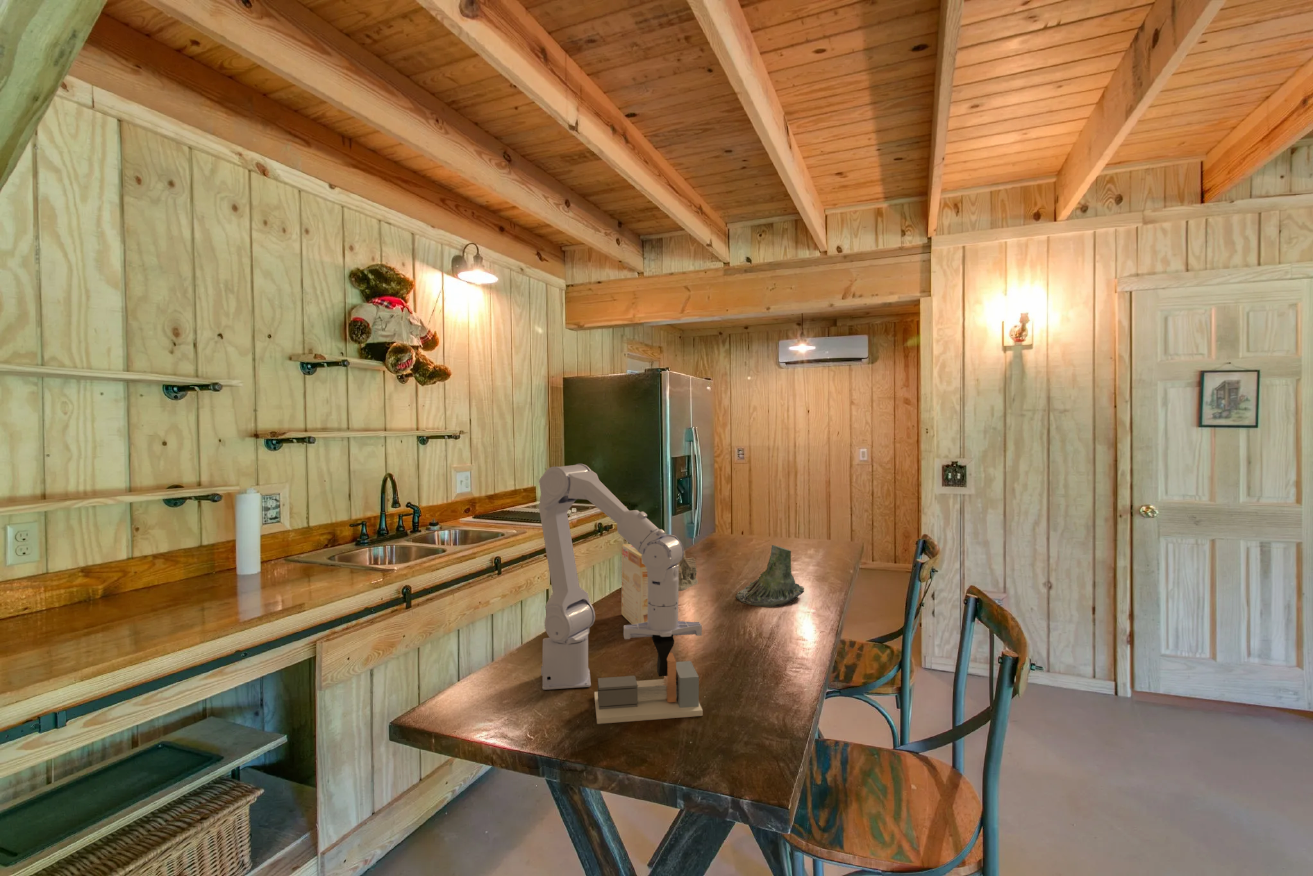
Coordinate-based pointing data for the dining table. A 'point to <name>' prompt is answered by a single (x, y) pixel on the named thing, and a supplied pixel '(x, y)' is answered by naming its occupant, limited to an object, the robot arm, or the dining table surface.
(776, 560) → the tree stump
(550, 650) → the robot arm
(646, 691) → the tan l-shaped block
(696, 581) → the ceramic cottage
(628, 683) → the cream rectangular panel
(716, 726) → the dining table surface
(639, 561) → the coffeecake box
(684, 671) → the socket block
